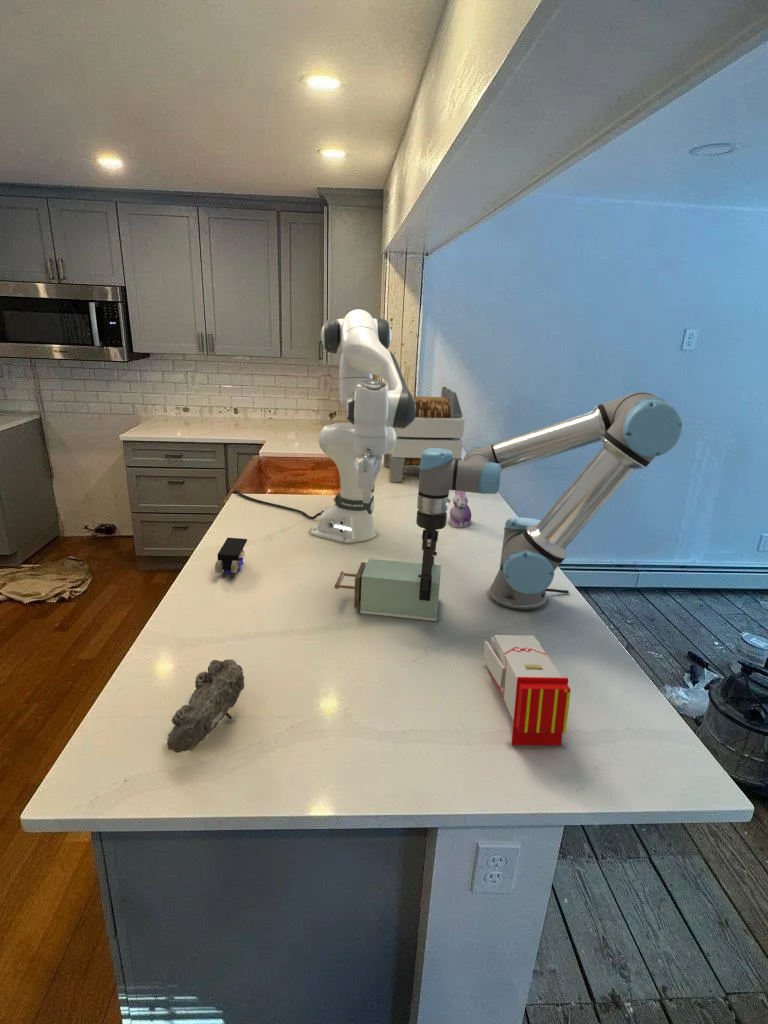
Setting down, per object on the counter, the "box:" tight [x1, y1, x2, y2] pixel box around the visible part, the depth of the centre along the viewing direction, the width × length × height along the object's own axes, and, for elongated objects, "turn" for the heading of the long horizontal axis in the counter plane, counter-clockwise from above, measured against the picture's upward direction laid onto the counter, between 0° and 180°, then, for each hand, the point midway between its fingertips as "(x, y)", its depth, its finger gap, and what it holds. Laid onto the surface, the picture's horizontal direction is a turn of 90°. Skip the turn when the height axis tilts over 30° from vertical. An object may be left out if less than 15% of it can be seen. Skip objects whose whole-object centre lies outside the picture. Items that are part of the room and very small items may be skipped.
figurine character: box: [214, 537, 248, 578], centre depth 166 cm, size 7×8×15 cm
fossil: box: [166, 658, 245, 754], centre depth 106 cm, size 22×10×15 cm
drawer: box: [334, 561, 367, 609], centre depth 150 cm, size 24×10×8 cm, turn 82°
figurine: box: [448, 490, 472, 528], centre depth 209 cm, size 9×10×15 cm
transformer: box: [383, 386, 465, 483], centre depth 268 cm, size 34×33×41 cm
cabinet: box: [360, 558, 442, 622], centre depth 150 cm, size 20×11×11 cm, turn 82°
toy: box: [482, 634, 572, 747], centre depth 115 cm, size 12×13×30 cm
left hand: (368, 496), depth 150 cm, fingers open, 8 cm apart
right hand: (426, 588), depth 149 cm, fingers open, 11 cm apart
